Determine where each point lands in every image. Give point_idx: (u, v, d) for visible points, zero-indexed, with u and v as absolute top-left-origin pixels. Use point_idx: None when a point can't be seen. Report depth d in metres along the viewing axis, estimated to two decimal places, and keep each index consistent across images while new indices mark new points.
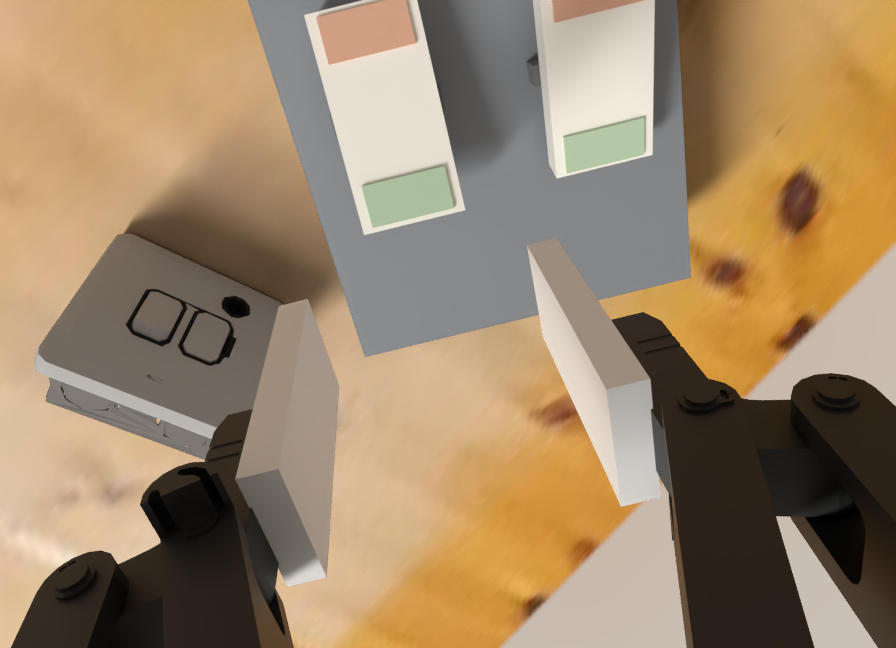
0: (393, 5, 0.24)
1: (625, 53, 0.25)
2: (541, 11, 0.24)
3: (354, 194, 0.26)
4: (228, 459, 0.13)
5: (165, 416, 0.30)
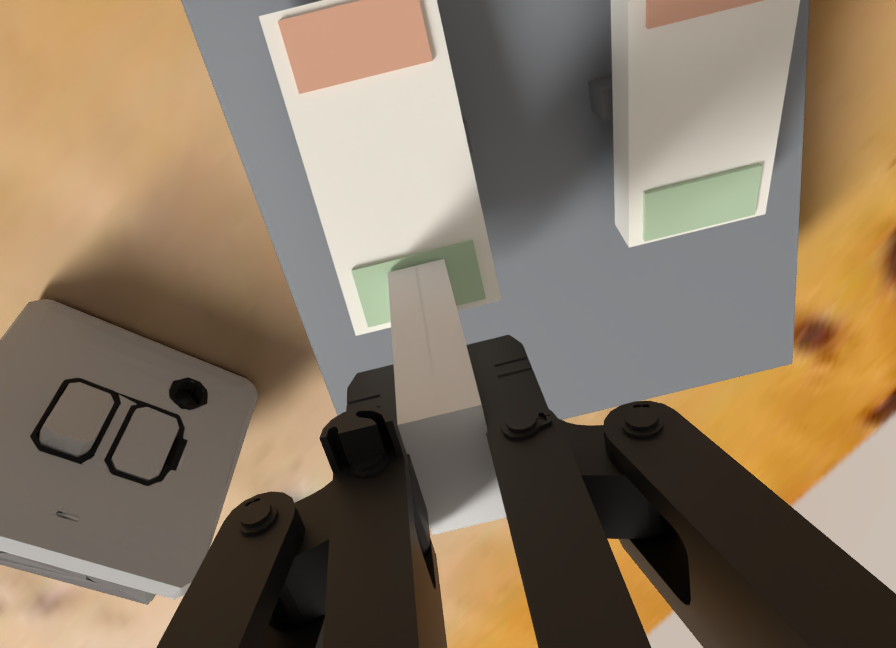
0: (399, 2, 0.15)
1: (746, 74, 0.17)
2: (628, 11, 0.15)
3: (341, 280, 0.18)
4: None
5: (81, 568, 0.22)
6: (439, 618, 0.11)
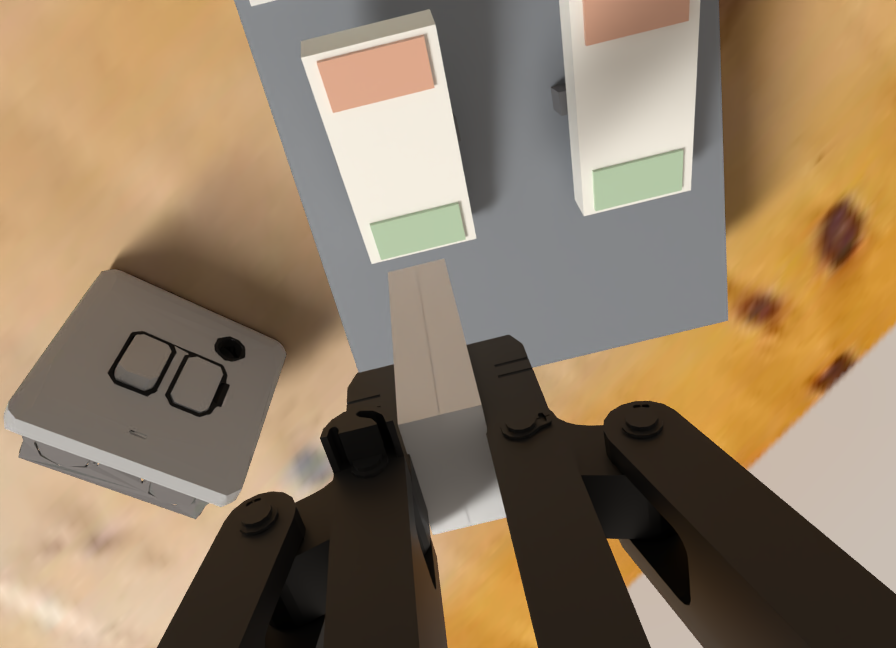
0: (410, 47, 0.20)
1: (664, 79, 0.22)
2: (571, 33, 0.21)
3: (362, 231, 0.24)
4: None
5: (149, 476, 0.27)
6: (440, 618, 0.11)
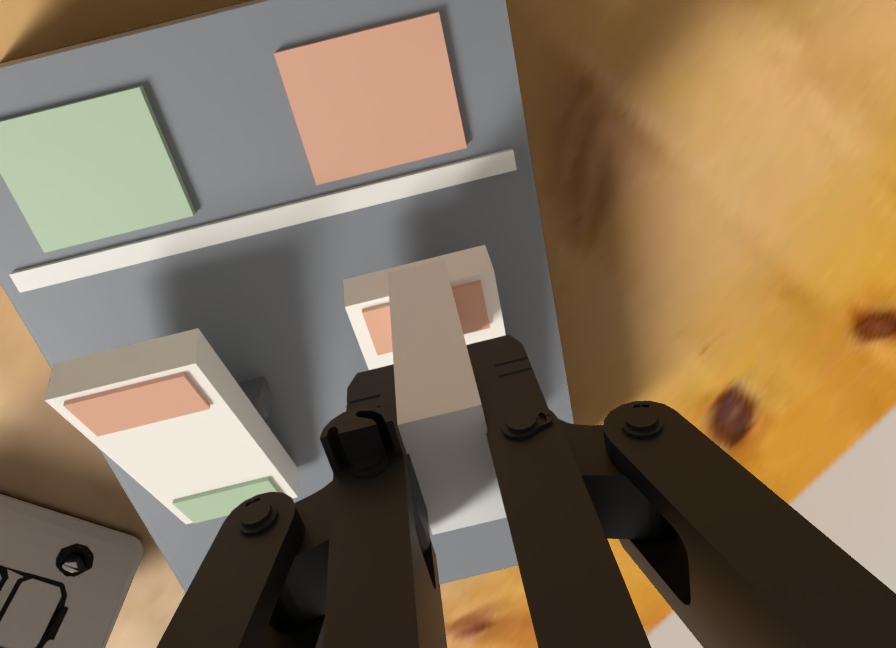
0: (171, 385, 0.18)
1: None
2: (359, 343, 0.19)
3: (165, 505, 0.23)
4: None
5: None
6: (439, 618, 0.11)
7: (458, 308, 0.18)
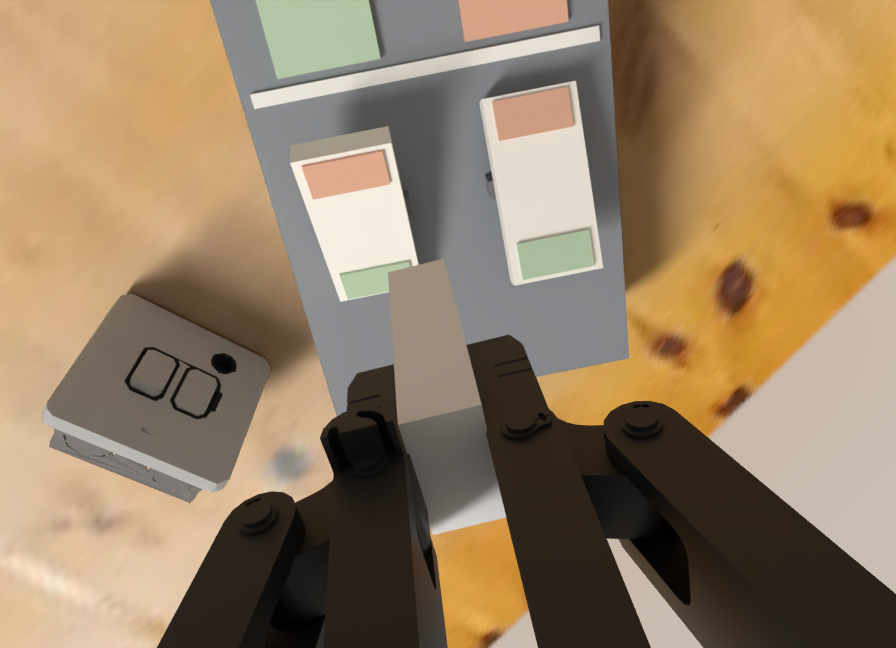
0: (372, 158, 0.27)
1: (563, 171, 0.29)
2: (487, 133, 0.29)
3: (333, 278, 0.31)
4: None
5: (155, 465, 0.34)
6: (440, 618, 0.11)
7: (553, 106, 0.29)
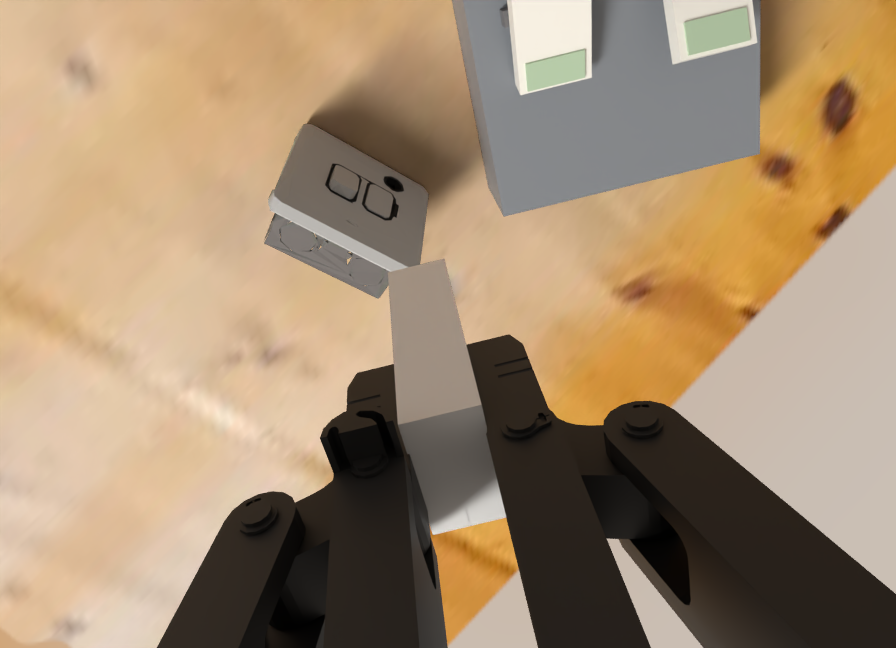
0: None
1: None
2: None
3: (519, 69, 0.36)
4: None
5: (361, 251, 0.39)
6: (440, 618, 0.11)
7: None
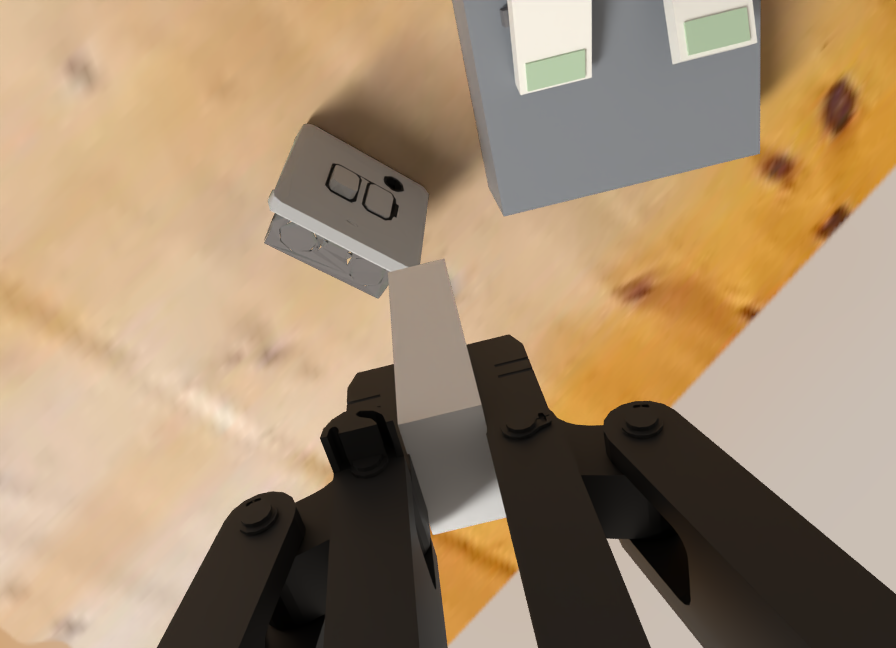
0: None
1: None
2: None
3: (519, 68, 0.36)
4: None
5: (361, 251, 0.39)
6: (440, 618, 0.11)
7: None
